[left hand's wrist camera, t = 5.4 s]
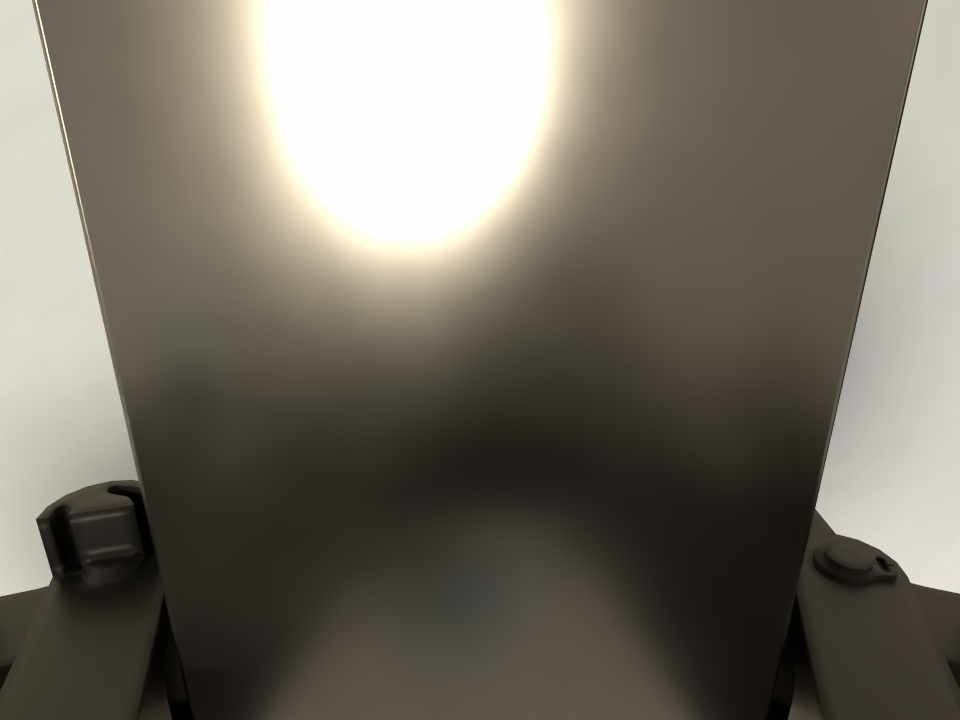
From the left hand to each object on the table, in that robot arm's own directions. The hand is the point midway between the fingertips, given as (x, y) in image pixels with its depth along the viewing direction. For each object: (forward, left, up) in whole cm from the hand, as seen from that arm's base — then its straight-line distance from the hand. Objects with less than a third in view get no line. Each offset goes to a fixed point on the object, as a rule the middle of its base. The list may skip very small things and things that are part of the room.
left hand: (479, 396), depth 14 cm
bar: (+7, +4, -1) cm, 8 cm away
